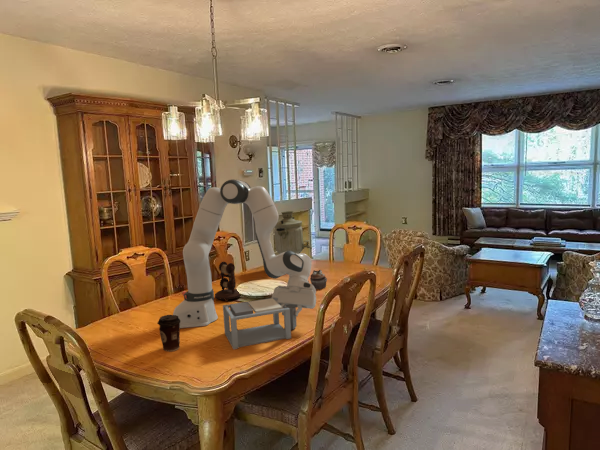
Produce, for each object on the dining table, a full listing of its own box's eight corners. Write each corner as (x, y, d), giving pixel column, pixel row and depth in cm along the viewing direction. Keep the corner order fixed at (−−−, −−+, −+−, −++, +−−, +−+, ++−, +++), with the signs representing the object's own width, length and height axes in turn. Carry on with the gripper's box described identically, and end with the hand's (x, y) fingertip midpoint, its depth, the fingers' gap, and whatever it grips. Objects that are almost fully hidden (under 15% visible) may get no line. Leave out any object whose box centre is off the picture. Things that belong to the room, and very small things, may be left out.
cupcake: (313, 290, 237) (312, 273, 236) (308, 285, 246) (308, 269, 245) (329, 288, 239) (328, 271, 238) (324, 284, 249) (323, 267, 247)
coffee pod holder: (247, 297, 229) (245, 261, 227) (225, 303, 219) (222, 266, 216) (231, 292, 240) (229, 258, 237) (209, 298, 229) (207, 263, 227)
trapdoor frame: (233, 349, 162) (231, 318, 161) (224, 333, 179) (222, 305, 177) (291, 338, 171) (289, 309, 169) (277, 323, 187) (276, 297, 186)
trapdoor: (236, 320, 164) (236, 313, 164) (230, 310, 176) (229, 303, 176) (282, 312, 171) (281, 306, 170) (273, 303, 183) (272, 297, 182)
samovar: (297, 276, 270) (294, 214, 264) (265, 272, 284) (262, 214, 279) (320, 266, 294) (318, 210, 289) (290, 263, 308) (287, 209, 303)
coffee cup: (160, 354, 160) (157, 322, 159) (158, 346, 168) (155, 315, 166) (183, 350, 164) (181, 318, 162) (181, 342, 171) (178, 312, 169)
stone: (293, 329, 178) (292, 309, 177) (284, 328, 180) (283, 308, 179) (296, 326, 182) (295, 306, 181) (288, 325, 184) (287, 305, 182)
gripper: (273, 282, 189) (265, 310, 181) (316, 285, 182) (309, 314, 174) (277, 288, 193) (269, 316, 186) (319, 291, 186) (313, 320, 179)
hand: (289, 315), depth 180 cm, fingers closed on stone, 4 cm apart
